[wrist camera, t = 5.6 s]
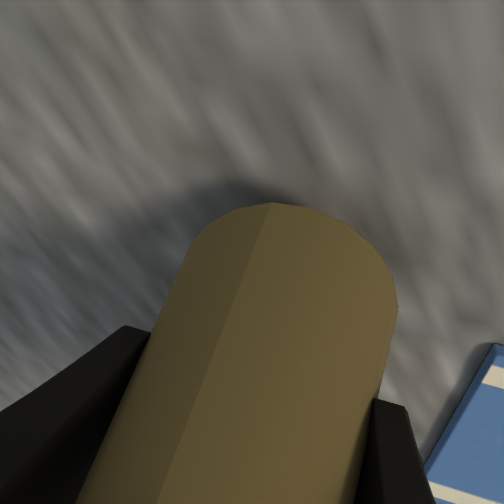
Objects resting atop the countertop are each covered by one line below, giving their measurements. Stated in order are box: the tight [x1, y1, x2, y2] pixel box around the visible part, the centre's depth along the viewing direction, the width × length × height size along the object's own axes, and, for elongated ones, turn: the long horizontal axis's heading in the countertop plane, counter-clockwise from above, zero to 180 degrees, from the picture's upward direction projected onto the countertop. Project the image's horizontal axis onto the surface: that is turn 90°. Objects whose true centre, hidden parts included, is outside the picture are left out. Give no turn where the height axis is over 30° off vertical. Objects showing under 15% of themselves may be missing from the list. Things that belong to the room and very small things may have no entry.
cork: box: [75, 202, 398, 504], centre depth 9 cm, size 6×6×11 cm
